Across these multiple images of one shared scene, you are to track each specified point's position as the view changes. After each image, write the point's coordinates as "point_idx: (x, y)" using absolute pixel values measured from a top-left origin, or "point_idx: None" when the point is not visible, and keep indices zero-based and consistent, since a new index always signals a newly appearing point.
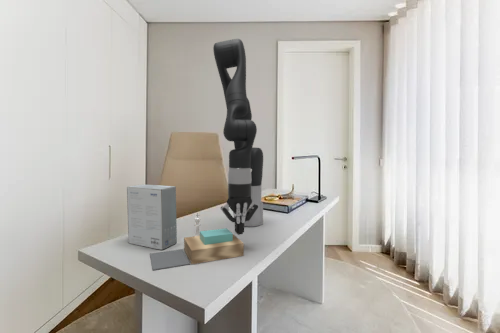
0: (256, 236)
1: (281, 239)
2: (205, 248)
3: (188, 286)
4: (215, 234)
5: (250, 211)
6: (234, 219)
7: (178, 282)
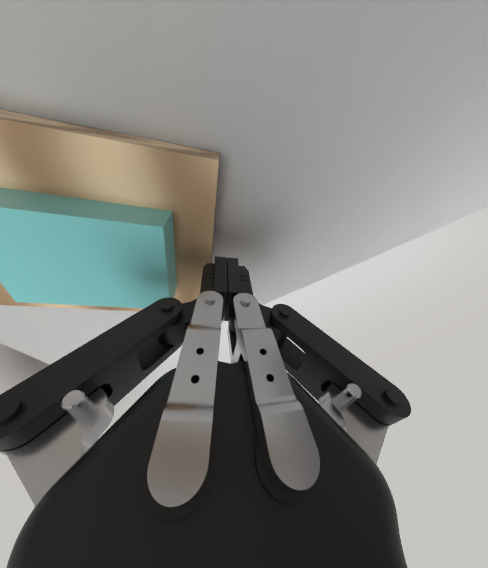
0: (387, 134)
1: (406, 233)
2: (54, 306)
3: (51, 346)
4: (78, 292)
5: (306, 378)
6: (178, 346)
7: (21, 332)
